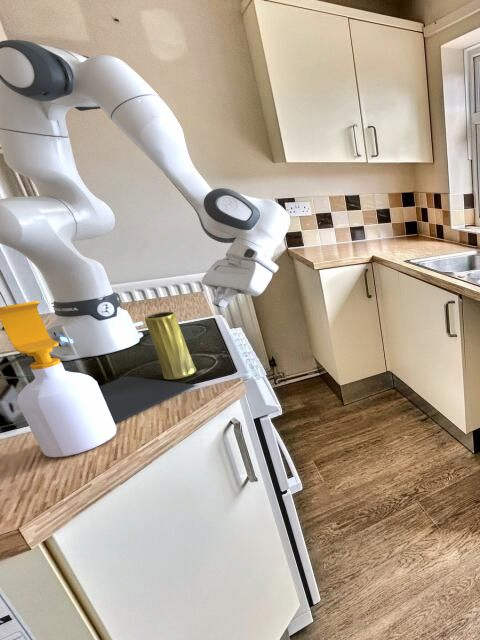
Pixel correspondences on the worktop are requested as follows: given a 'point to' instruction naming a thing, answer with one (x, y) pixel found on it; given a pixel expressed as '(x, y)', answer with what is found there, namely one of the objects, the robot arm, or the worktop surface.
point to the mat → (137, 395)
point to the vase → (170, 345)
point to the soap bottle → (55, 390)
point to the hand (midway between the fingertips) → (218, 306)
